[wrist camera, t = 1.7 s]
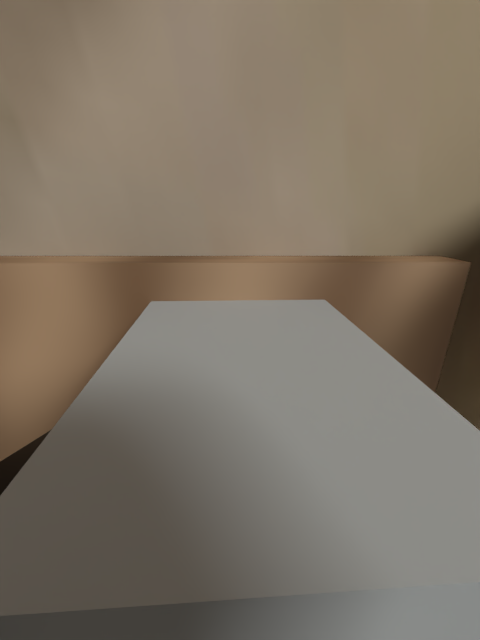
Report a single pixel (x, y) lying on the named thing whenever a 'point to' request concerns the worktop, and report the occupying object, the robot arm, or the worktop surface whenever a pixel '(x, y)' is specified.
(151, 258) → the board
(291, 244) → the worktop surface
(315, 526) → the block
